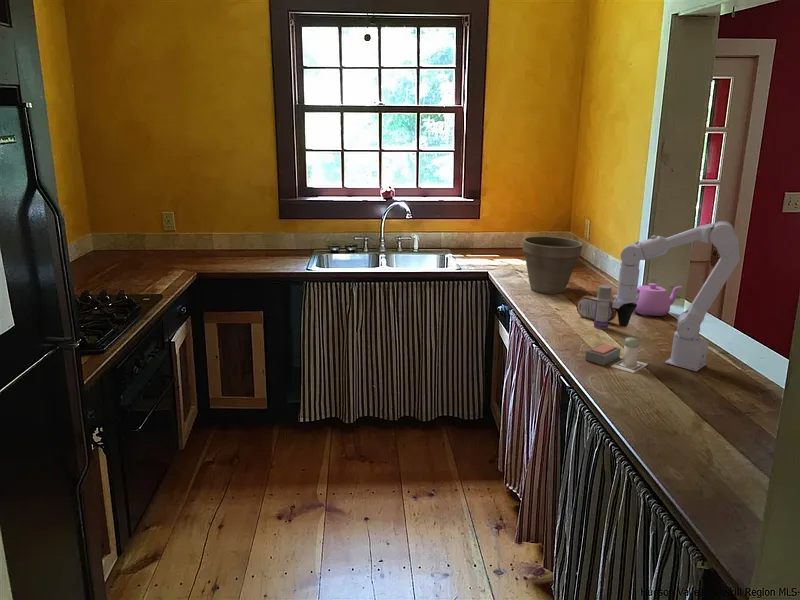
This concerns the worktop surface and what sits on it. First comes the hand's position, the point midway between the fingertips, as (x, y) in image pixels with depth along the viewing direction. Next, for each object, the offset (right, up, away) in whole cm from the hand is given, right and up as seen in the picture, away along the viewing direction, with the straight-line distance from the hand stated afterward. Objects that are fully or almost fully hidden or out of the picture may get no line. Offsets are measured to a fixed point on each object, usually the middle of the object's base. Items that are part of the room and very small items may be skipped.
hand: (623, 325), depth 201 cm
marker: (-1, -11, -8) cm, 14 cm away
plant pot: (-5, +12, +79) cm, 80 cm away
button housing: (-7, -10, -2) cm, 13 cm away
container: (+2, -2, +29) cm, 29 cm away
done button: (-7, -8, -3) cm, 11 cm away
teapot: (+28, +3, +48) cm, 56 cm away
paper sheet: (-1, -12, -8) cm, 14 cm away
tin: (+3, +1, +38) cm, 38 cm away
